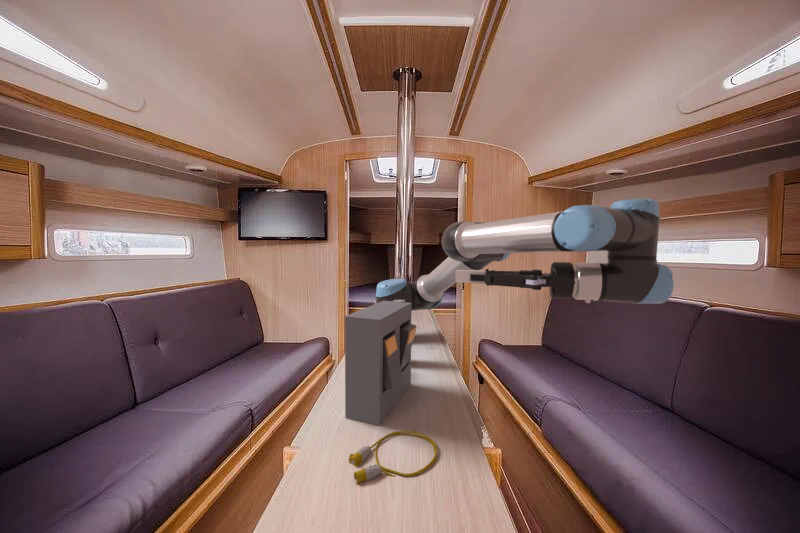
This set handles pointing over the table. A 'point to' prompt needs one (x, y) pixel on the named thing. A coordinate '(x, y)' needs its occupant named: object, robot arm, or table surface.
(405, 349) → the panel
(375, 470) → the extension cord
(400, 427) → the table surface
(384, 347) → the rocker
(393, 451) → the table surface
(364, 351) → the block
